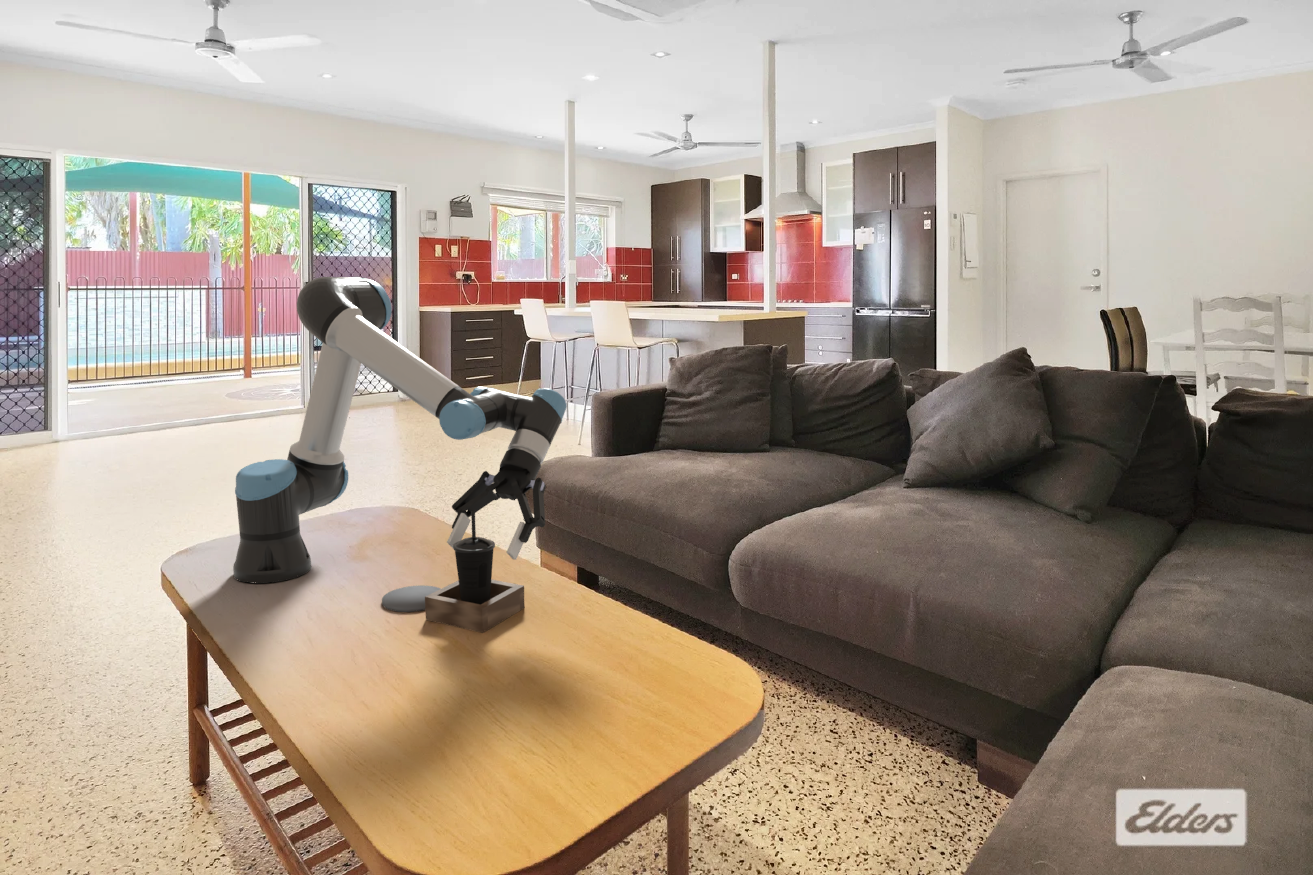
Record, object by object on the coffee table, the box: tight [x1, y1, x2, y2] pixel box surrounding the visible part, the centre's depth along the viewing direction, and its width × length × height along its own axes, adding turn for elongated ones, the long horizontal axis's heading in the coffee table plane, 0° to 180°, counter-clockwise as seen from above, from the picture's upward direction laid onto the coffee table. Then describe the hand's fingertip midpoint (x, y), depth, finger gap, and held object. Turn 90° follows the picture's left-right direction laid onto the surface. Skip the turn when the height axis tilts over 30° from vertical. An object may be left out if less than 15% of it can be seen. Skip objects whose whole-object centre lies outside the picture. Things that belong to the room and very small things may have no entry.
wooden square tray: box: [424, 578, 525, 634], centre depth 156 cm, size 13×13×4 cm
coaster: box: [381, 585, 442, 613], centre depth 162 cm, size 12×12×1 cm
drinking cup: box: [452, 511, 496, 605], centre depth 154 cm, size 8×8×20 cm
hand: (480, 551), depth 154 cm, fingers open, 13 cm apart
